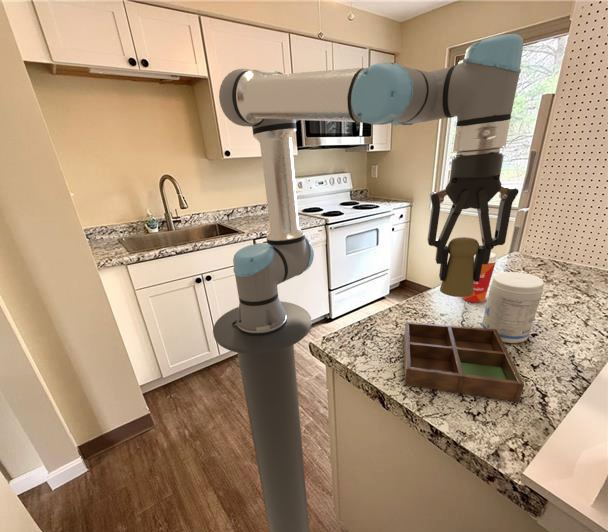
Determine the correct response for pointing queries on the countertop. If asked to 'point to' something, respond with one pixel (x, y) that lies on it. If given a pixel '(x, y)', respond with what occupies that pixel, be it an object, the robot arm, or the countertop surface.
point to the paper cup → (482, 281)
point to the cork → (460, 267)
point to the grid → (460, 361)
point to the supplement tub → (512, 305)
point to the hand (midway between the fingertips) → (458, 278)
